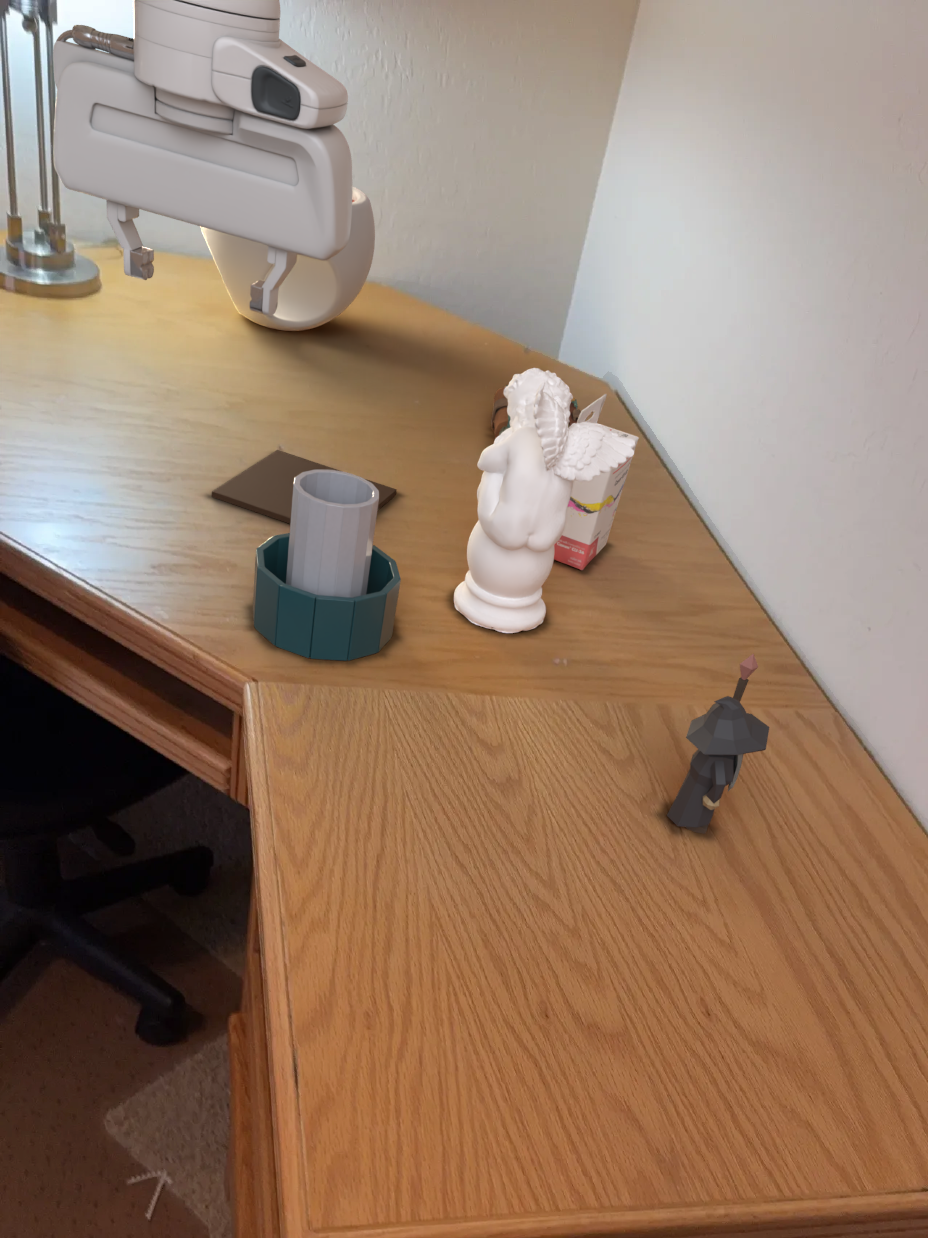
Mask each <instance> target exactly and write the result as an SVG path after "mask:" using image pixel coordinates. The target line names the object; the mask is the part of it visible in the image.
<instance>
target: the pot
mask: <svg viewBox="0 0 928 1238" xmlns="http://www.w3.org/2000/svg"><path fill="white" fill-rule="evenodd" d="M199 227H200V230H201V234H202V235H203V238H204V240H205V242H206V245H207V248H208V249H209V252H210V255H211V257H212V259H213V261H214V263H215V266H216V269H217V271H218V273H219V275H220V278H221V280H222V283H223V284H224V287H225V289H226V291H227V294H228V295H229V297H230V299H231V301H232V303H233V306H234V308H235V309H236V311H237V313H238V314H239V315H241V316H242V317H245V318H246V319H248V320H249V321H251V322H253V323H255V324H257V325H260V326H262V327H266V328H269V329H272V330H278V331H285V332H287V331H288V332H300V331H307V330H310V329H314V328H318V327H321V326H323V325H325V324H327V323H329V322H331V321H333V320H334V319H335V318H337V317H338V316H340V315H341V314H342V313H343V312H345V311H346V310H347V309H348V308H349V306H350V305H352V304H353V302H354V301H355V299H356V298H357V297H358V295H359V294H360V292H361V291H362V289H363V287H364V286H365V283H366V281H367V278H368V276H369V273H370V270H371V267H372V264H373V259H374V253H375V245H376V228H375V217H374V212H373V208H372V202H371V201H370V197H369V196H368V195H367V194H366V193H365V192H363V191H362V190H360V189H359V188H357V187H355V186H354V185H352V217H351V229H350V237H349V240H348V243H347V245H346V246H345V247H344V248H343V249H342V250H341V251H340V252H339V253H338V254H336V255H335V256H333V257H331V258H330V259H328V260H318V259H314V258H311V257H307V256H304V255H300V254H297V259H296V264H295V265H294V267H293V268H292V270H291V271H290V272H289V274H288V275H287V277H286V278H285V280H284V281H283V283H282V284H281V286H279V292H278V306H277V310H276V312H275V313H274V314H273V315H271V316H268V315H265V314H261V313H258V312H254V311H251V310H250V301H251V300H252V298H251V296H250V288H251V285H252V284H253V283H256V282H257V281H259V280H262V281H266V279H267V278H268V276H269V275H270V273H271V271H272V270H273V268H274V267H275V264H271V263H268V261H267V256H268V245H265V244H261V243H258V242H254V241H251V240H247V239H243V238H240V237H236V236H233V235H229V234H226V233H222V232H219V231H215V230H212V229H208V228H204V227H201V226H199Z"/></svg>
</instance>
